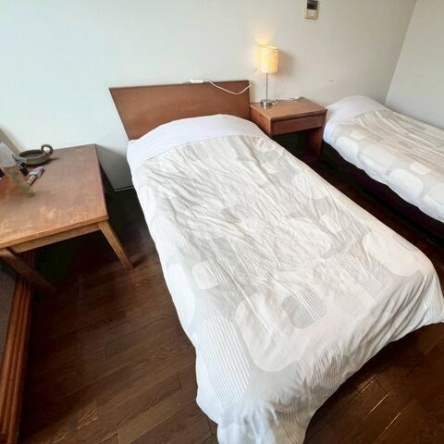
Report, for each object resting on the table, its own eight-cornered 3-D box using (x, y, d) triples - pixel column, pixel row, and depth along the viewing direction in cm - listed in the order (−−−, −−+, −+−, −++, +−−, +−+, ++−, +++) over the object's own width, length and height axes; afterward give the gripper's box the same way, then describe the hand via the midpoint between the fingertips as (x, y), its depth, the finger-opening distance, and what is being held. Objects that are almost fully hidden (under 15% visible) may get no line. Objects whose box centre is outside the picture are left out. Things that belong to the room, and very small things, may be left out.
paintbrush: (43, 164, 143) (28, 185, 130) (46, 168, 145) (31, 189, 132) (35, 164, 142) (19, 185, 129) (38, 168, 144) (22, 189, 131)
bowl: (22, 160, 149) (10, 144, 143) (58, 153, 158) (49, 139, 151) (21, 170, 142) (9, 155, 135) (59, 163, 150) (49, 148, 143)
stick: (24, 197, 126) (1, 170, 115) (28, 193, 128) (5, 166, 117) (33, 196, 127) (11, 169, 116) (36, 192, 129) (15, 165, 118)
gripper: (-45, 147, 103) (-13, 181, 115) (7, 144, 108) (33, 178, 119) (-33, 139, 108) (-4, 172, 120) (16, 137, 113) (39, 169, 124)
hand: (14, 175), depth 120 cm, fingers open, 9 cm apart
